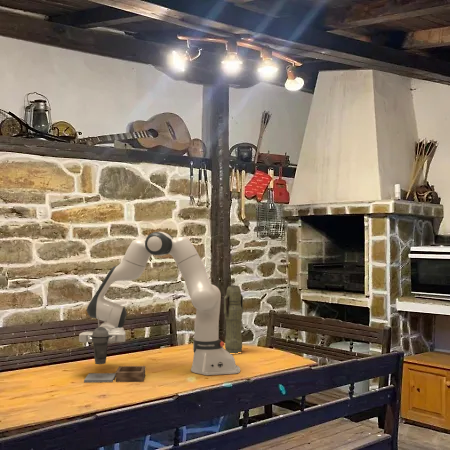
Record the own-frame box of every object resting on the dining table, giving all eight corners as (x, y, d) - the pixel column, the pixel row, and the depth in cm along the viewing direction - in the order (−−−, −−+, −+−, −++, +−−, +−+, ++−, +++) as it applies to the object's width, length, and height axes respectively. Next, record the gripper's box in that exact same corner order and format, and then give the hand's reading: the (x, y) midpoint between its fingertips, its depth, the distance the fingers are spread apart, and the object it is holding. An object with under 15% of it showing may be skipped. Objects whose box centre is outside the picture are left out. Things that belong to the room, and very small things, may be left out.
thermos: (219, 353, 318) (219, 286, 318) (235, 350, 326) (235, 284, 326) (231, 355, 312) (231, 287, 312) (247, 352, 320) (247, 285, 320)
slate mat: (116, 375, 269) (116, 373, 269) (112, 382, 257) (112, 379, 257) (88, 375, 268) (88, 373, 268) (83, 382, 256) (83, 380, 257)
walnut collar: (145, 375, 270) (145, 366, 270) (143, 381, 258) (143, 372, 258) (118, 375, 269) (118, 366, 269) (115, 381, 257) (115, 372, 257)
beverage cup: (105, 365, 259) (105, 318, 259) (88, 364, 260) (89, 317, 260) (111, 361, 266) (111, 315, 266) (95, 360, 267) (96, 315, 267)
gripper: (81, 327, 275) (75, 333, 262) (127, 327, 276) (123, 332, 263) (81, 341, 275) (75, 347, 262) (127, 341, 276) (123, 347, 263)
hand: (100, 340), depth 262 cm, fingers closed on beverage cup, 7 cm apart
